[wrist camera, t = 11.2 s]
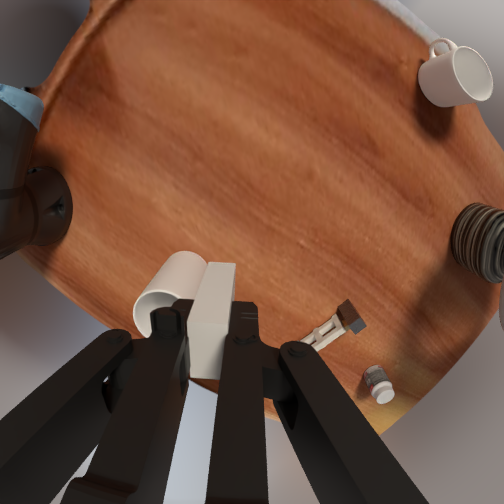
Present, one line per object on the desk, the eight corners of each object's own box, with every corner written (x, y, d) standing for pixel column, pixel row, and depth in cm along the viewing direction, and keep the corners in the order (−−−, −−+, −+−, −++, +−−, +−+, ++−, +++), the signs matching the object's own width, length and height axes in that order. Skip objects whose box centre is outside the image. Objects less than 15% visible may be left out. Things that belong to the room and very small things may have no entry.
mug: (435, 116, 43) (474, 111, 32) (398, 61, 40) (431, 43, 29) (462, 95, 41) (500, 88, 30) (428, 43, 39) (461, 25, 27)
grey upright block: (326, 315, 54) (335, 335, 48) (348, 298, 53) (360, 317, 47) (335, 325, 55) (345, 346, 48) (356, 309, 54) (368, 328, 47)
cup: (214, 290, 53) (202, 342, 37) (171, 298, 53) (145, 349, 38) (203, 246, 50) (183, 285, 35) (158, 255, 51) (123, 295, 35)
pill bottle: (360, 370, 59) (372, 396, 51) (380, 361, 58) (393, 385, 50) (366, 383, 60) (377, 408, 52) (384, 374, 59) (397, 398, 51)
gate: (280, 358, 57) (282, 374, 52) (276, 355, 57) (278, 371, 52) (338, 317, 54) (346, 331, 50) (335, 313, 54) (342, 327, 49)
